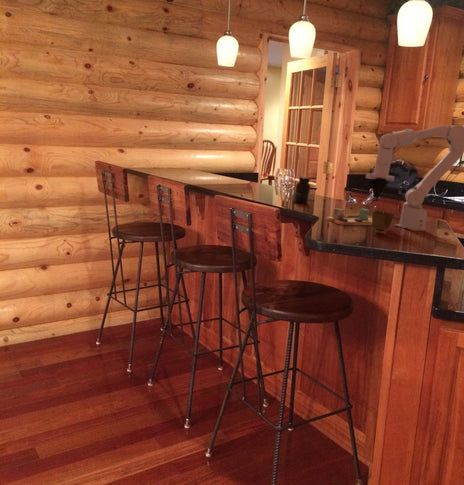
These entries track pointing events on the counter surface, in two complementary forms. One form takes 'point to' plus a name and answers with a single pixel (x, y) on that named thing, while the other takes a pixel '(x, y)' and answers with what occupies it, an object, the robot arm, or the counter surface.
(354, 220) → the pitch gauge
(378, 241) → the counter surface
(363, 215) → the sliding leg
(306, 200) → the supplement bottle
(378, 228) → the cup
